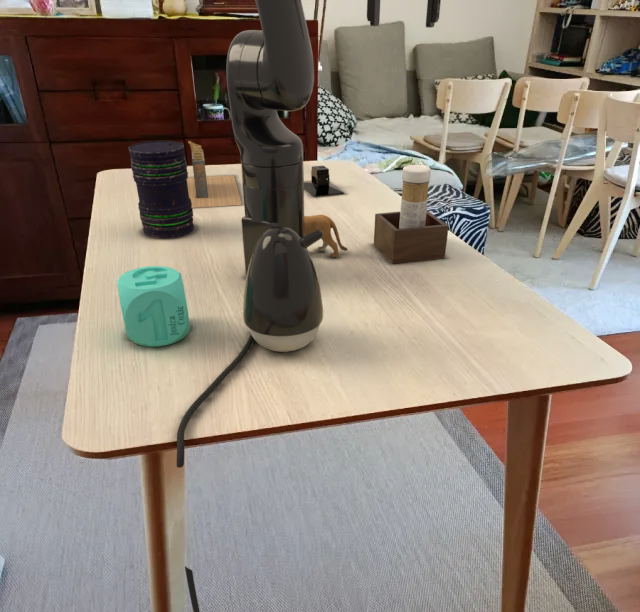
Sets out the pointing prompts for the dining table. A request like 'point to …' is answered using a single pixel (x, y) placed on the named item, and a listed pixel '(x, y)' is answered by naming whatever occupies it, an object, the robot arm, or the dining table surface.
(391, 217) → the box
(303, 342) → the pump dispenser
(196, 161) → the ruin model on sheet
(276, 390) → the dining table surface
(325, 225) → the lion figurine
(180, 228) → the dark barrel
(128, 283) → the decorative dice
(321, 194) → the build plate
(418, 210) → the sprinkles bottle
